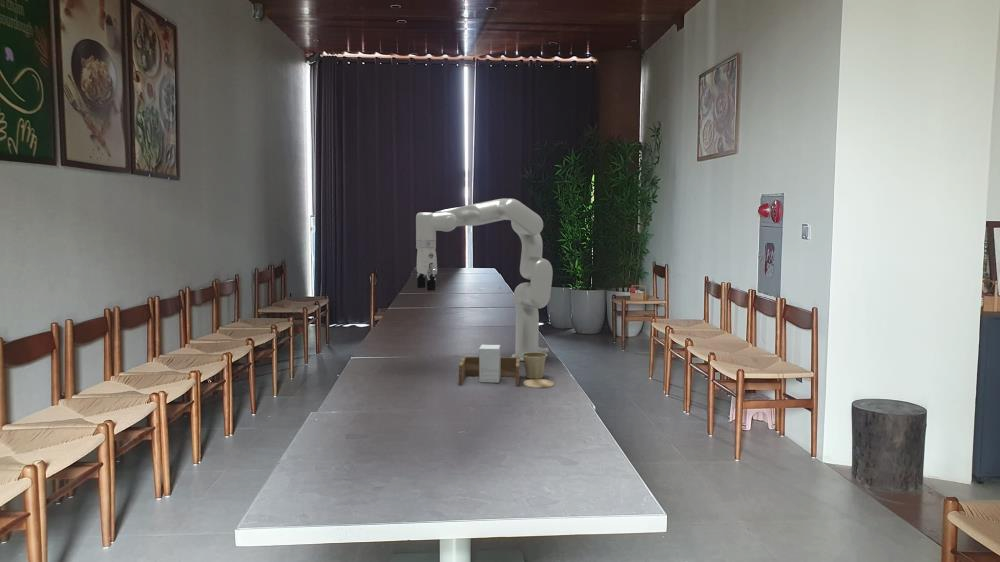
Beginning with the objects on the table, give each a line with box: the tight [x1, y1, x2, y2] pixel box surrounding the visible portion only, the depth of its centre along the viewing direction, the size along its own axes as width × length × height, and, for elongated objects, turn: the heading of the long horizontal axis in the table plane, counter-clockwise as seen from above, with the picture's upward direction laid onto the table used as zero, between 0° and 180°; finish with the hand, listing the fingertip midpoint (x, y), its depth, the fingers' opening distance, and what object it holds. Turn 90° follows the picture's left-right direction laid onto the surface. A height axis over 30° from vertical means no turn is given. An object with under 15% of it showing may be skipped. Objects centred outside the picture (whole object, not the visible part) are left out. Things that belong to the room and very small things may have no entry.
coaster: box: [523, 378, 555, 389], centre depth 269 cm, size 11×11×1 cm
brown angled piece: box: [458, 356, 521, 387], centre depth 274 cm, size 15×21×7 cm
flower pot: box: [522, 352, 548, 380], centre depth 279 cm, size 9×9×9 cm
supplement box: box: [478, 344, 502, 384], centre depth 274 cm, size 7×7×13 cm
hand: (426, 289), depth 288 cm, fingers open, 9 cm apart
